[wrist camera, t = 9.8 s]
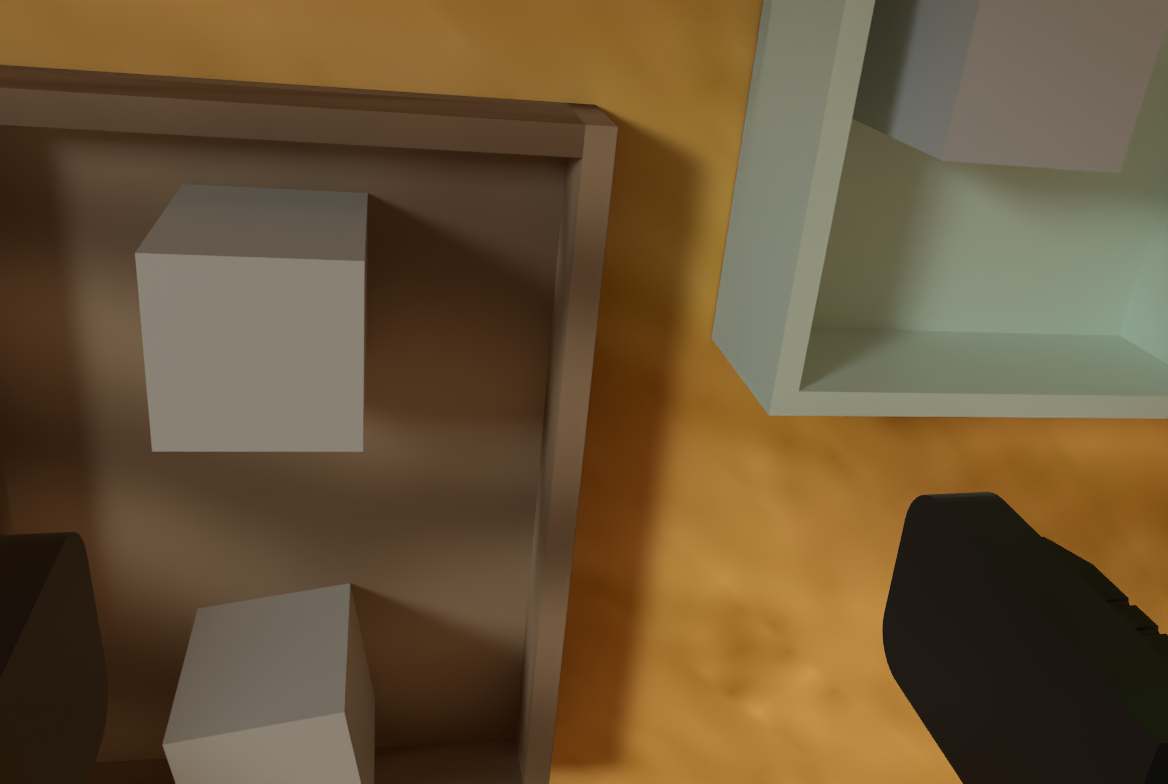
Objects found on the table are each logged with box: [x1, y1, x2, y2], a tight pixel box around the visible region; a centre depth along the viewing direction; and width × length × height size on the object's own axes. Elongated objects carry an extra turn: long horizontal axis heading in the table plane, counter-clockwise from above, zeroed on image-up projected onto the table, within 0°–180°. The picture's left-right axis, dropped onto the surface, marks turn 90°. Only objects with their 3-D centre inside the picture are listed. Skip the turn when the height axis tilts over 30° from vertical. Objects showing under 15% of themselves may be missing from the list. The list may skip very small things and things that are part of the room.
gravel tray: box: [0, 65, 618, 784], centre depth 26 cm, size 19×14×3 cm
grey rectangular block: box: [135, 184, 368, 452], centre depth 22 cm, size 4×4×5 cm
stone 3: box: [852, 0, 1168, 173], centre depth 22 cm, size 4×4×5 cm
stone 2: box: [163, 583, 375, 784], centre depth 27 cm, size 4×4×5 cm
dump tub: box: [712, 0, 1168, 419], centre depth 24 cm, size 12×12×5 cm
